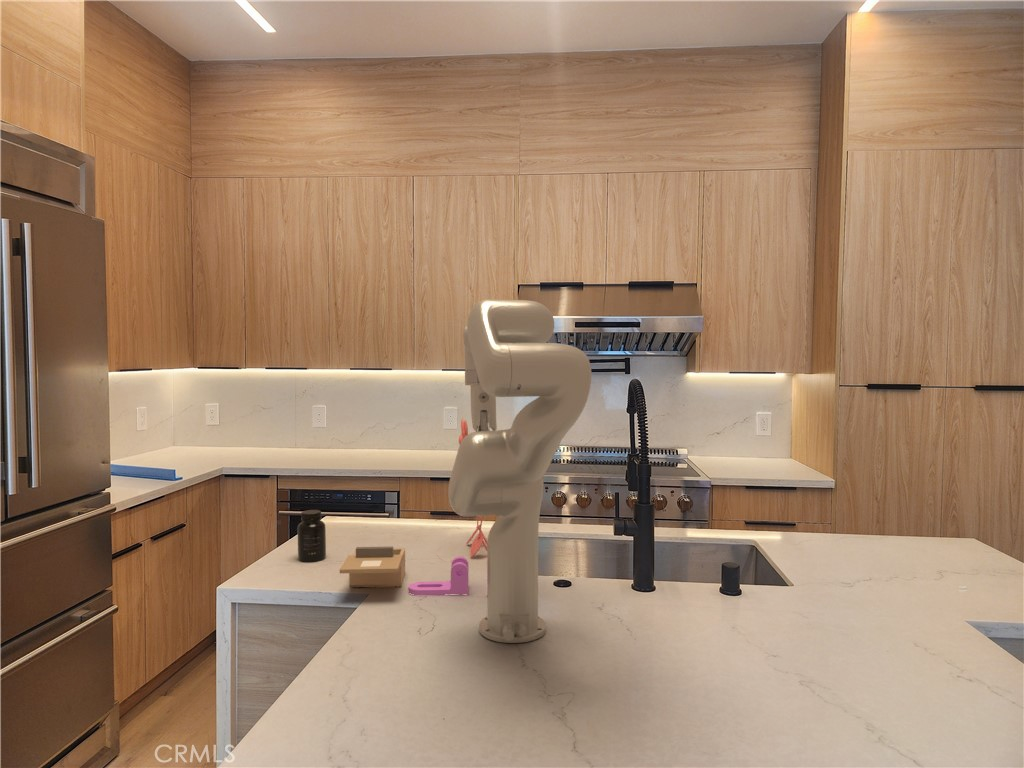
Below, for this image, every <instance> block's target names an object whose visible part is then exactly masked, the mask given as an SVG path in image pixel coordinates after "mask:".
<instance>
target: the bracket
mask: <svg viewBox="0 0 1024 768" xmlns="http://www.w3.org/2000/svg"><path fill="white" fill-rule="evenodd" d="M407 590H408V591H409V592H408V594H409V593H411V594H414V595H445V594H468V595H469V561H468V559H467V558H465V556H461V555H460V556H456V557H454V559H452V561H451V568H450V580H444V581H443V580H442V581H441V580H440V581H437V580H435V581H434V580H432V581H429V580H428V581H415V582H412V583H410V584H408V589H407ZM411 594H410V595H411ZM414 595H413V596H414Z"/></svg>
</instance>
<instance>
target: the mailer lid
mask: <svg viewBox="0 0 1024 768" xmlns="http://www.w3.org/2000/svg"><path fill="white" fill-rule="evenodd" d="M393 549H394V546H356V548H355V550H356V555H353V554H352V555H350V554H349V555H347V556H346V558H345V560H344V561H343V563H342V565H341V567H340V568H339V574H349V573H392V572H398V571H399V568H400V565H401V562H402V559H403V555H393Z"/></svg>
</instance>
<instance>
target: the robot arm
mask: <svg viewBox="0 0 1024 768" xmlns="http://www.w3.org/2000/svg"><path fill="white" fill-rule="evenodd" d="M554 331H555V318H554V316H553V314H552V312H551V310H550V309H549V308H548V307H547V306H545V305H544V304H543V303H541V302H539V301H534V300H526V299H488V298H487V299H482V300H479V301H478V302H476V303H475V304H474V305H473V306H472V308H471V309H470V312H469V314H468V318H467V322H466V325H465V326H464V328H463V334H462V337H463V338H462V339H463V344H464V385H465V386H470V414H471V415H470V416H471V423H472V430H474V432H471V433H470V432H469V433H468V435H467V436H465V437H464V438H463V440H462V441H461V443H460V444H459V445H458V446H459V447H458V450H457V454H456V457H455V460H454V463H453V467H452V470H451V473H450V477H449V483H448V491H447V492H448V493H447V494H448V495H447V496H448V501H449V502H448V503H449V505H450V508H451V509H452V510H453V512H454V513H455V514H457V515H458V516H461V517H465V518H466V517H467V518H469V517H472V518H474V517H477V516H479V517H482V516H483V517H485V516H486V517H487V516H498V517H497V518H496V520H495V521H494V523H493V524H492V525H491V527H490V530H489V531H488V536H487V538H488V539H486V540H487V544H486V546H487V551H486V553H487V554H486V555H487V557H486V558H487V561H486V565H487V566H486V567H487V568H486V569H487V570H486V573H487V576H486V577H487V579H486V580H487V583H486V584H487V587H486V589H487V591H486V592H487V593H486V594H487V596H486V597H487V599H486V600H487V601H486V602H487V606H486V607H487V609H486V611H487V612H486V613H487V614H486V615H487V616H485V617H484V618H482V619H481V620H480V621H479V624H478V627H479V628H478V630H479V631H478V632H479V633H480V635H481V636H483V637H484V638H486V639H488V640H490V641H494V642H498V643H504V644H521V643H527V642H531V641H532V642H533V641H535V640H538V639H539V638H542V637H543V636H544V635H545V634H546V632H547V623H546V621H545V619H543V618H542V617H540V616H539V524H540V515H541V514H540V513H541V509H542V508H541V507H542V500H543V496H544V487H545V486H544V478H543V476H544V475H545V473H546V472H547V470H548V469H549V467H550V465H551V464H552V462H553V459H554V456H555V454H556V452H557V450H558V448H559V446H560V444H561V442H562V440H563V438H564V437H565V436H566V434H567V433H569V431H570V429H572V427H573V426H574V425H575V423H576V422H578V420H579V417H580V416H581V414H582V413H583V411H584V409H585V407H586V404H587V401H588V398H589V396H590V390H591V384H592V365H591V363H590V359H589V357H588V355H587V354H586V353H585V352H584V351H583V350H582V349H580V348H578V347H576V346H573V345H569V344H565V343H558V342H557V343H556V342H548V341H549V340H550V339H551V338H552V336H553V334H554ZM518 397H524V398H525V397H536V398H535V399H534V400H531V401H530V402H528V404H525V406H524V407H522V409H520V411H518V413H517V414H516V416H515V417H514V419H513V422H512V424H511V427H510V428H507V429H500V430H497V428H498V427H497V426H498V425H497V403H496V402H497V401H496V400H497V398H518ZM490 428H491V430H490Z"/></svg>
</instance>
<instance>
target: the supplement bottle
mask: <svg viewBox="0 0 1024 768" xmlns="http://www.w3.org/2000/svg"><path fill="white" fill-rule="evenodd" d="M300 514H301V518H300V519H301V522H300V523H298V525H297V557H298V560H299V561H300V562H304V563H314V562H320V561H323V560H324V559H325V558H326V557H327V543H326V542H327V541H326V540H327V539H326V536H327V535H326V524H325V522H324V521H323V520H321V519H322V511H321V510H319V509H309V510H303V511H302V512H301V513H300Z"/></svg>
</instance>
